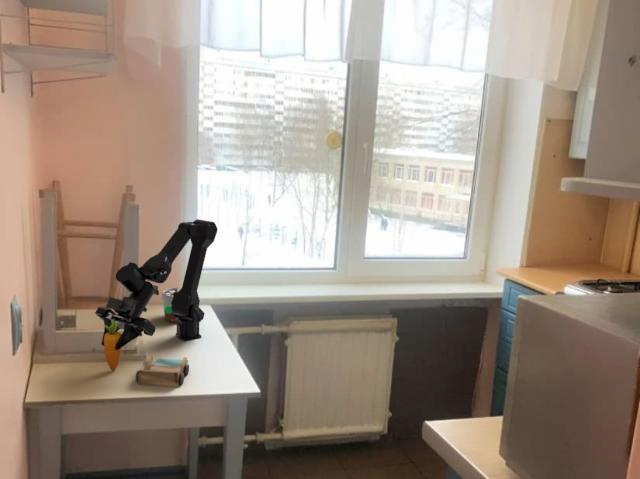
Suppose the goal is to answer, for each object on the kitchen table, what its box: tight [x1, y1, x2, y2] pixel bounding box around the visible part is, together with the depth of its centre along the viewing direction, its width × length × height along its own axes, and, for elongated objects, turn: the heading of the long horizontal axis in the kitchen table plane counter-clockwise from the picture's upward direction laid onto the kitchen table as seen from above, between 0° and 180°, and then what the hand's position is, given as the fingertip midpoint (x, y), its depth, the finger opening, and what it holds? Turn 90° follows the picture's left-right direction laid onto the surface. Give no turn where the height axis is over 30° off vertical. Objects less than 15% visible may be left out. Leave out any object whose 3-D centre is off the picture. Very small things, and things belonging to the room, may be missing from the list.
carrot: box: [103, 319, 123, 372], centre depth 167 cm, size 5×5×15 cm
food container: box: [160, 287, 179, 324], centre depth 211 cm, size 12×6×10 cm, turn 20°
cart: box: [135, 354, 190, 388], centre depth 169 cm, size 17×13×4 cm
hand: (109, 347), depth 166 cm, fingers closed on carrot, 5 cm apart
